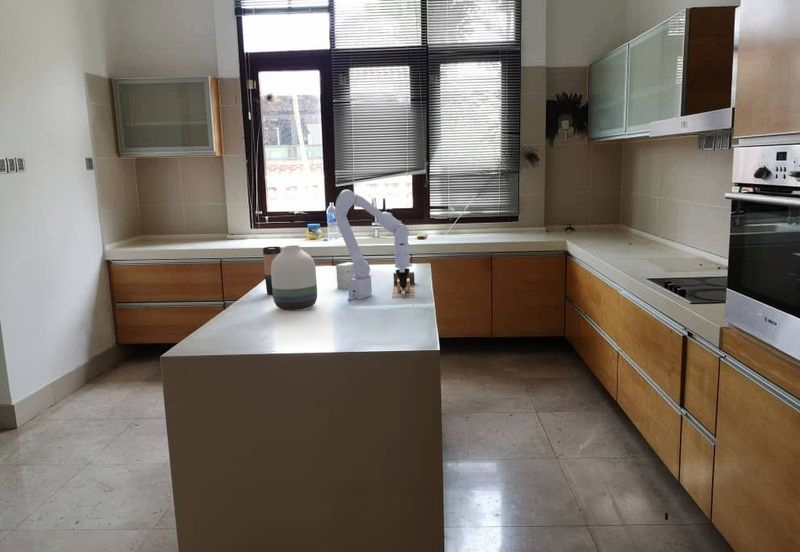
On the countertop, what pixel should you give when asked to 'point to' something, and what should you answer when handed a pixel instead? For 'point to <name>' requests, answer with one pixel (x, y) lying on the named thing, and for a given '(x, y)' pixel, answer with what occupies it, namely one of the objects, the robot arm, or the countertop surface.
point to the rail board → (403, 290)
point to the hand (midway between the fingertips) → (403, 286)
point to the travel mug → (269, 265)
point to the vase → (294, 279)
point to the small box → (344, 274)
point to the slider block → (406, 285)
